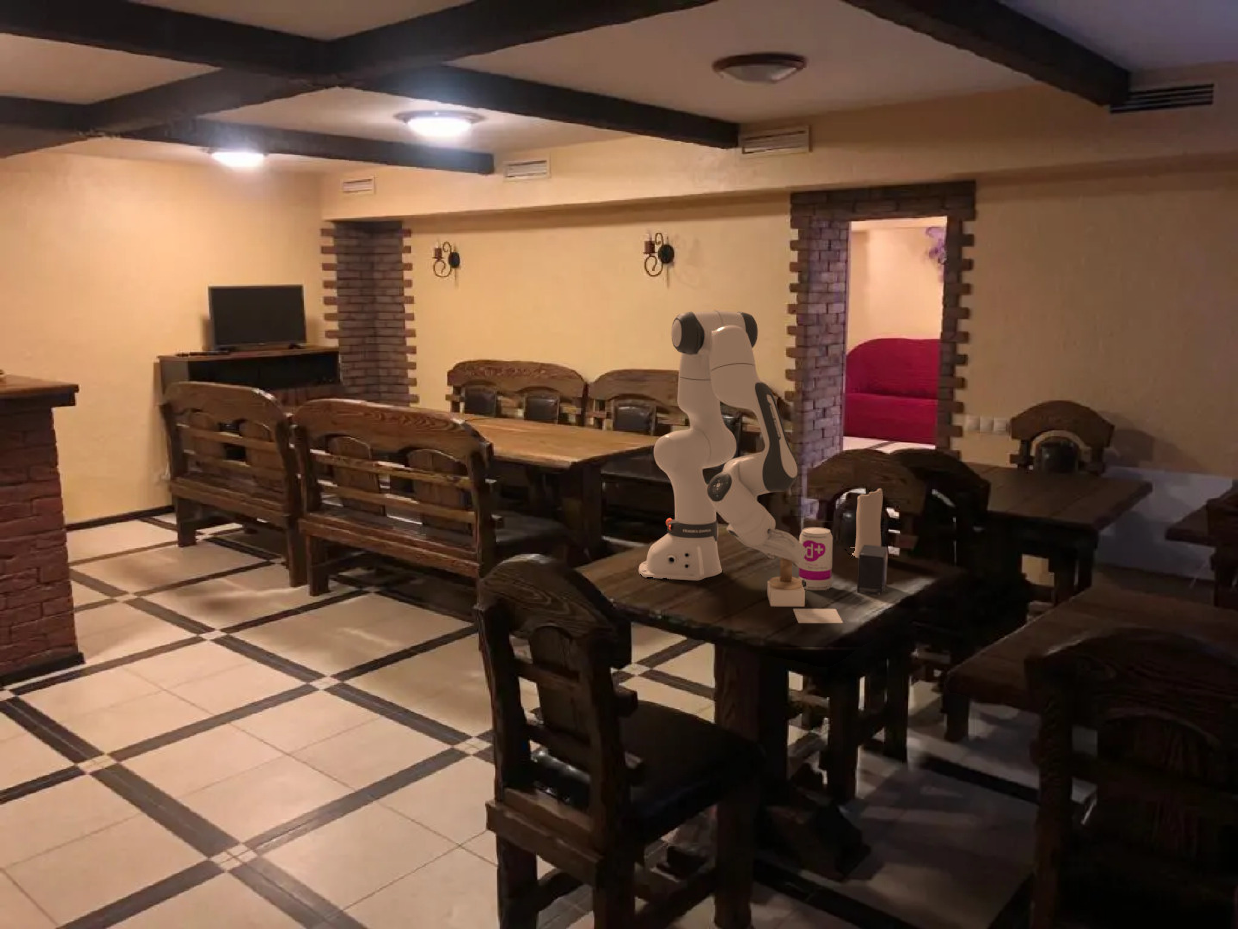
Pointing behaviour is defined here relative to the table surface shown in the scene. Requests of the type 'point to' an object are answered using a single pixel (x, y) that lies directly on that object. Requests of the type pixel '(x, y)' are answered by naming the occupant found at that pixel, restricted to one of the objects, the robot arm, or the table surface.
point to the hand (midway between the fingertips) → (786, 560)
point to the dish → (786, 596)
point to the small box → (872, 569)
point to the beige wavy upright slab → (868, 520)
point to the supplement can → (816, 558)
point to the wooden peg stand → (785, 577)
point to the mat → (817, 616)
